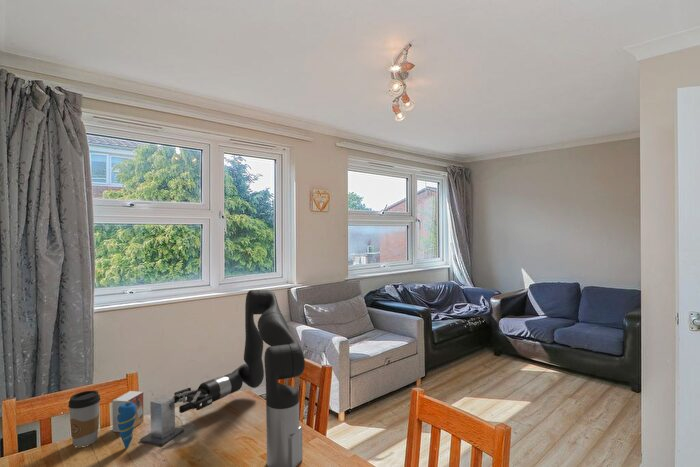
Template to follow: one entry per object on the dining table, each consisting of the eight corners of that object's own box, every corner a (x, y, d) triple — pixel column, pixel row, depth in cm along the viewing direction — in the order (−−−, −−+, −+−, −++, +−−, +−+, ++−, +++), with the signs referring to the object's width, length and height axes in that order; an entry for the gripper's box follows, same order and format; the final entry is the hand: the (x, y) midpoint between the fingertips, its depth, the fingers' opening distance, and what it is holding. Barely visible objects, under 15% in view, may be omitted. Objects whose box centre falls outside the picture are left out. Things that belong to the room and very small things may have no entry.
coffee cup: (62, 447, 119) (61, 399, 118) (87, 434, 127) (86, 388, 126) (82, 452, 116) (81, 402, 116) (107, 437, 124) (106, 391, 124)
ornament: (119, 445, 120) (118, 397, 120) (138, 441, 122) (137, 394, 121) (116, 454, 115) (115, 404, 115) (135, 450, 117) (134, 401, 117)
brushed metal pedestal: (174, 431, 126) (174, 397, 126) (161, 438, 122) (161, 403, 122) (164, 428, 128) (163, 395, 128) (150, 435, 124) (150, 401, 124)
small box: (126, 433, 127) (126, 401, 127) (112, 432, 128) (111, 400, 128) (144, 421, 135) (143, 391, 134) (130, 420, 136) (129, 390, 136)
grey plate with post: (183, 433, 127) (183, 412, 127) (162, 447, 119) (162, 425, 119) (162, 428, 130) (161, 408, 130) (139, 443, 122) (139, 420, 122)
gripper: (203, 375, 145) (160, 390, 132) (227, 383, 137) (184, 400, 123) (203, 395, 145) (161, 412, 132) (227, 404, 137) (185, 423, 123)
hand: (172, 406), depth 127 cm, fingers open, 8 cm apart
